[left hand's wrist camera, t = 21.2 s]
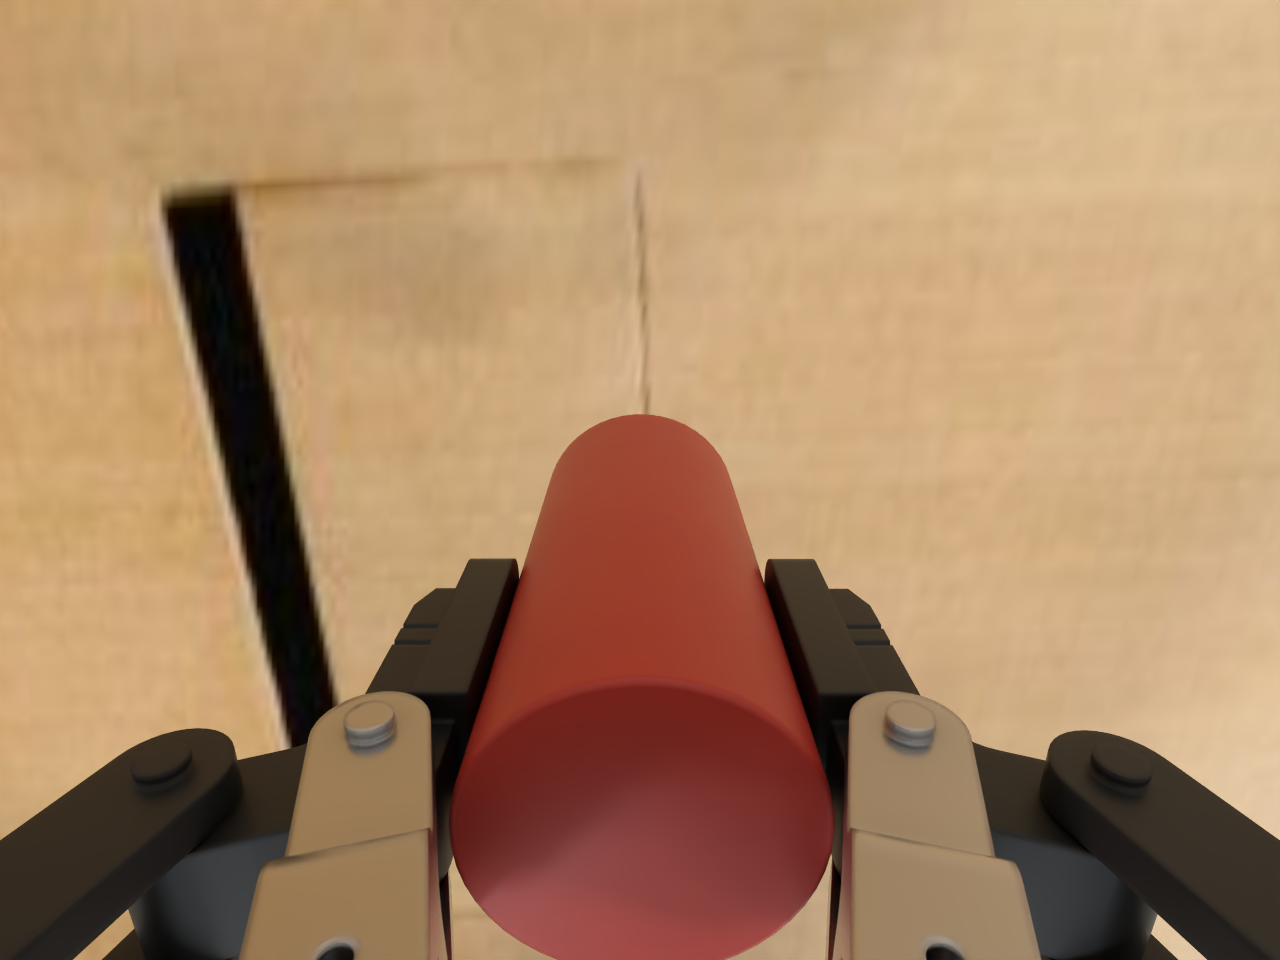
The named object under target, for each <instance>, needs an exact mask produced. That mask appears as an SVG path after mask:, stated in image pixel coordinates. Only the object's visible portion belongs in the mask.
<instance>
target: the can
mask: <svg viewBox="0 0 1280 960" xmlns="http://www.w3.org/2000/svg"><path fill="white" fill-rule="evenodd" d="M834 831H835V817H834V805H833V800H832V795H831V790H830V787H829V784H828V781H827V778H826V775H825V772H824V768H823V765H822V762H821V759H820V756H819V753H818V750H817V747H816V744H815V740H814V737H813V734H812V731H811V728H810V725H809V722H808V719H807V716H806V712H805V709H804V706H803V703H802V700H801V697H800V694H799V691H798V688H797V684H796V681H795V678H794V675H793V672H792V669H791V666H790V663H789V660H788V656H787V653H786V650H785V647H784V644H783V641H782V638H781V635H780V632H779V628H778V625H777V622H776V619H775V616H774V613H773V610H772V607H771V604H770V600H769V597H768V594H767V591H766V588H765V585H764V582H763V579H762V576H761V572H760V569H759V566H758V563H757V560H756V557H755V554H754V551H753V548H752V544H751V541H750V538H749V535H748V532H747V529H746V526H745V523H744V520H743V517H742V513H741V510H740V507H739V504H738V501H737V498H736V495H735V492H734V489H733V485H732V482H731V479H730V476H729V474H728V471H727V468H726V466H725V464H724V462H723V460H722V459H721V457H720V455H719V454H718V453H717V451H716V450H715V449H714V447H713V446H712V445H711V444H710V443H709V442H708V441H707V440H706V439H705V438H704V437H703V436H701V435H700V434H699V433H697V432H696V431H695V430H693V429H691V428H690V427H688V426H686V425H684V424H682V423H680V422H677V421H675V420H672V419H668V418H665V417H661V416H654V415H638V414H636V415H627V416H621V417H617V418H612V419H609V420H607V421H604V422H602V423H599V424H597V425H595V426H594V427H592V428H590V429H588V430H587V431H585V432H584V433H583V434H581V435H580V436H579V437H577V438H576V439H575V440H574V441H573V442H572V443H571V444H570V445H569V446H568V448H567V449H566V450H565V451H564V453H563V454H562V456H561V457H560V459H559V461H558V462H557V464H556V467H555V469H554V471H553V474H552V477H551V480H550V483H549V486H548V490H547V493H546V496H545V499H544V502H543V506H542V509H541V512H540V515H539V518H538V521H537V525H536V528H535V531H534V534H533V537H532V541H531V544H530V547H529V550H528V553H527V557H526V560H525V563H524V566H523V569H522V573H521V576H520V579H519V582H518V585H517V588H516V592H515V595H514V598H513V601H512V604H511V608H510V611H509V614H508V617H507V620H506V624H505V627H504V630H503V633H502V636H501V639H500V643H499V646H498V649H497V652H496V655H495V659H494V662H493V665H492V668H491V671H490V675H489V678H488V681H487V684H486V687H485V690H484V694H483V697H482V700H481V703H480V706H479V710H478V713H477V716H476V719H475V722H474V726H473V729H472V732H471V735H470V738H469V742H468V745H467V748H466V751H465V754H464V757H463V761H462V764H461V767H460V770H459V773H458V777H457V780H456V783H455V786H454V790H453V794H452V798H451V802H450V811H449V834H450V843H451V848H452V852H453V855H454V859H455V863H456V867H457V869H458V871H459V873H460V875H461V878H462V880H463V882H464V884H465V886H466V887H467V889H468V891H469V892H470V894H471V895H472V897H473V898H474V900H475V901H476V902H477V904H478V905H479V906H480V907H481V908H482V909H483V911H484V912H485V913H486V914H487V915H488V916H489V917H490V918H491V919H492V920H493V921H494V922H495V923H497V924H498V925H499V926H500V927H501V928H502V929H503V930H505V931H506V932H507V933H509V934H510V935H512V936H513V937H515V938H516V939H518V940H519V941H520V942H522V943H524V944H526V945H528V946H529V947H531V948H533V949H535V950H537V951H539V952H540V953H543V954H545V955H548V956H550V957H553V958H555V959H557V960H725V959H728V958H731V957H733V956H736V955H738V954H740V953H742V952H744V951H746V950H748V949H750V948H752V947H754V946H756V945H758V944H759V943H761V942H762V941H764V940H765V939H767V938H769V937H770V936H772V935H773V934H775V933H776V932H777V931H778V930H780V929H781V928H782V927H783V926H784V925H786V924H787V923H788V922H789V921H790V920H791V919H792V918H793V917H794V916H795V915H796V914H797V913H798V912H799V911H800V910H801V909H802V908H803V907H804V905H805V904H806V903H807V901H808V900H809V899H810V897H811V896H812V894H813V893H814V891H815V890H816V888H817V887H818V885H819V883H820V881H821V879H822V877H823V875H824V873H825V870H826V867H827V864H828V861H829V858H830V854H831V851H832V845H833V838H834Z"/></svg>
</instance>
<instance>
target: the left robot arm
mask: <svg viewBox="0 0 1280 960" xmlns="http://www.w3.org/2000/svg"><path fill="white" fill-rule="evenodd" d="M518 582H519V570H518V564H517V561H516V559H470V560H469V561H468V563H467V565H466V567H465V569H464V572H463V574H462V576H461V578H460V580H459V582H458V584H457V587H456V588H436V589H435V590H433V591H432V592H431V593H429V594H428V595H427V596H425V597H424V598H423V599H421V600H420V601H419V602H417V603H416V604H415V605H414V606H413V608H412V610H411V612H410V613H409V615H408V617H407V619H406V621H405V622H404V624H403V628H401V630H400V632H399V633H398V635H397V637H396V639H395V644H394V645H392V646H391V648H390V650H389V652H388V653H387V655H386V657H385V659H384V661H383V662H382V664H381V666H380V668H379V670H378V672H377V673H376V675H375V677H374V679H373V681H372V683H371V684H370V686H369V688H368V690H367V692H366V693H365V694H364V695H361V696H357V697H354V698H352V699H349V700H347V701H345V702H343V703H341V704H339V705H337V706H335V707H334V708H332V709H331V710H329V711H328V712H327V713H326V714H324V715H323V716H322V717H321V718H320V719H319V720H318V721H317V723H316V724H315V725H314V727H313V728H312V730H311V732H310V735H309V739H308V743H307V744H304V745H301V746H298V747H294V748H291V749H287V750H282V751H278V752H273V753H269V754H264V755H260V756H255V757H250V758H246V759H241V760H237V757H236V753H235V749H234V745H233V742H232V741H231V739H230V738H229V737H228V736H226V735H225V734H223V733H221V732H219V731H216V730H211V729H200V728H196V729H185V730H179V731H174V732H170V733H166V734H163V735H160V736H157V737H154V738H151V739H149V740H147V741H144V742H142V743H140V744H138V745H136V746H134V747H132V748H130V749H129V750H127V751H125V752H124V753H122V754H121V755H119V756H118V757H116V758H115V759H114V760H112V761H111V762H109V763H108V764H107V765H105V766H104V767H102V768H101V769H100V770H98V771H97V772H95V773H94V774H93V775H91V776H90V777H88V778H87V779H86V780H84V781H83V782H81V783H80V784H79V785H77V786H76V787H74V788H73V789H72V790H70V791H69V792H67V793H66V794H65V795H63V796H62V797H60V798H59V799H58V800H56V801H55V802H53V803H52V804H51V805H49V806H48V807H46V808H45V809H44V810H42V811H41V812H39V813H38V814H37V815H35V816H34V817H32V818H31V819H30V820H28V821H27V822H25V823H24V824H23V825H21V826H20V827H18V828H17V829H16V830H14V831H13V832H11V833H10V834H9V835H7V836H6V837H4V838H3V839H2V840H0V960H73V959H74V958H75V957H76V956H77V955H78V954H79V953H80V952H82V951H83V950H84V949H85V948H86V947H87V946H88V945H89V944H90V943H91V942H92V941H94V940H95V939H96V938H97V937H98V936H99V935H100V934H101V933H102V932H103V931H104V930H105V929H107V928H108V927H109V926H110V925H111V924H112V923H113V922H114V921H115V920H116V919H117V918H119V917H120V916H121V915H122V914H123V913H124V912H125V911H126V910H127V909H128V910H129V913H130V916H131V919H132V922H133V925H134V928H135V929H134V930H133V931H132V932H130V933H129V934H128V935H127V936H126V937H125V938H124V939H123V940H122V941H121V942H120V943H119V944H118V945H117V946H116V947H115V948H114V949H113V950H112V951H111V952H110V953H108V954H107V955H106V956H105V957H104V958H103V959H102V960H455V959H454V937H453V915H452V894H451V880H450V872H449V867H450V864H451V861H452V858H453V852H452V848H451V843H450V834H449V811H450V802H451V798H452V794H453V790H454V786H455V783H456V780H457V777H458V773H459V770H460V767H461V764H462V761H463V757H464V754H465V751H466V748H467V745H468V742H469V738H470V735H471V732H472V729H473V726H474V722H475V719H476V716H477V713H478V710H479V706H480V703H481V700H482V697H483V694H484V690H485V687H486V684H487V681H488V678H489V675H490V671H491V668H492V665H493V662H494V659H495V655H496V652H497V649H498V646H499V643H500V639H501V636H502V633H503V630H504V627H505V624H506V620H507V617H508V614H509V611H510V608H511V604H512V601H513V598H514V595H515V592H516V588H517V585H518ZM764 585H765V588H766V591H767V594H768V597H769V600H770V604H771V607H772V610H773V613H774V616H775V619H776V622H777V625H778V628H779V632H780V635H781V638H782V641H783V644H784V647H785V650H786V653H787V656H788V660H789V663H790V666H791V669H792V672H793V675H794V678H795V681H796V684H797V688H798V691H799V694H800V697H801V700H802V703H803V706H804V709H805V712H806V716H807V719H808V722H809V725H810V728H811V731H812V734H813V737H814V740H815V744H816V747H817V750H818V753H819V756H820V759H821V762H822V765H823V768H824V772H825V775H826V778H827V781H828V784H829V787H830V790H831V795H832V800H833V805H834V817H835V831H834V838H833V845H832V851H831V854H832V864H831V872H830V880H829V894H828V915H827V937H826V959H825V960H1178V959H1177V958H1176V957H1175V956H1174V955H1173V954H1172V953H1171V952H1169V951H1168V950H1167V949H1166V948H1165V947H1164V946H1163V945H1162V944H1161V943H1160V942H1159V941H1158V940H1157V939H1156V938H1155V937H1154V936H1153V935H1152V934H1151V932H1152V929H1153V926H1154V923H1155V920H1156V917H1157V914H1158V915H1159V916H1160V917H1161V918H1163V919H1164V920H1165V921H1166V922H1167V923H1168V924H1169V925H1170V926H1171V927H1172V928H1173V929H1175V930H1176V931H1177V932H1178V933H1179V934H1180V935H1181V936H1182V937H1183V938H1184V939H1185V940H1186V941H1188V942H1189V943H1190V944H1191V945H1192V946H1193V947H1194V948H1195V949H1196V950H1197V951H1198V952H1200V953H1201V954H1202V955H1203V956H1204V957H1205V958H1206V959H1207V960H1280V840H1278V839H1277V838H1276V837H1274V836H1273V835H1271V834H1270V833H1269V832H1267V831H1266V830H1264V829H1263V828H1262V827H1260V826H1259V825H1257V824H1256V823H1255V822H1253V821H1252V820H1250V819H1249V818H1248V817H1246V816H1245V815H1243V814H1242V813H1241V812H1239V811H1238V810H1236V809H1235V808H1234V807H1232V806H1231V805H1229V804H1228V803H1227V802H1225V801H1224V800H1222V799H1221V798H1220V797H1218V796H1217V795H1215V794H1214V793H1213V792H1211V791H1210V790H1208V789H1207V788H1206V787H1204V786H1203V785H1201V784H1200V783H1199V782H1197V781H1196V780H1194V779H1193V778H1192V777H1190V776H1189V775H1187V774H1186V773H1185V772H1183V771H1182V770H1180V769H1179V768H1178V767H1176V766H1175V765H1173V764H1172V763H1171V762H1169V761H1168V760H1166V759H1165V758H1163V757H1162V756H1160V755H1159V754H1157V753H1156V752H1154V751H1152V750H1150V749H1149V748H1147V747H1145V746H1143V745H1141V744H1138V743H1136V742H1134V741H1131V740H1129V739H1126V738H1123V737H1120V736H1116V735H1113V734H1109V733H1104V732H1098V731H1086V730H1084V731H1072V732H1067V733H1064V734H1062V735H1059V736H1058V737H1056V738H1055V739H1054V740H1053V741H1052V742H1051V744H1050V747H1049V750H1048V754H1047V758H1046V761H1045V760H1040V759H1036V758H1031V757H1026V756H1022V755H1017V754H1013V753H1008V752H1004V751H999V750H995V749H991V748H988V747H985V746H982V745H979V744H976V743H974V742H972V739H971V735H970V732H969V730H968V728H967V727H966V725H965V724H964V723H963V721H962V720H961V719H960V718H959V717H958V716H957V715H956V714H954V713H953V712H952V711H951V710H949V709H948V708H946V707H945V706H943V705H941V704H939V703H937V702H935V701H933V700H931V699H928V698H926V697H923V696H920V694H919V692H918V690H917V689H916V687H915V685H914V683H913V681H912V680H911V678H910V676H909V674H908V672H907V671H906V669H905V667H904V665H903V663H902V662H901V660H900V658H899V656H898V655H897V653H896V651H895V649H894V647H893V646H892V645H890V640H889V638H888V637H887V635H886V633H885V631H884V629H881V624H880V622H879V621H878V619H877V617H876V615H875V613H874V612H873V610H872V608H871V606H870V605H869V604H867V603H866V602H865V601H863V600H862V599H861V598H859V597H858V596H857V595H855V594H854V593H853V592H851V591H850V590H849V589H828V586H827V584H826V582H825V580H824V578H823V576H822V574H821V572H820V570H819V568H818V566H817V563H816V562H815V560H814V559H768V561H767V564H766V569H765V580H764Z"/></svg>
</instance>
